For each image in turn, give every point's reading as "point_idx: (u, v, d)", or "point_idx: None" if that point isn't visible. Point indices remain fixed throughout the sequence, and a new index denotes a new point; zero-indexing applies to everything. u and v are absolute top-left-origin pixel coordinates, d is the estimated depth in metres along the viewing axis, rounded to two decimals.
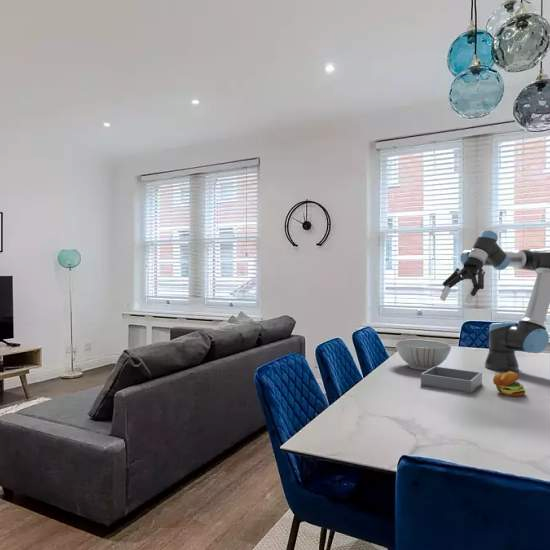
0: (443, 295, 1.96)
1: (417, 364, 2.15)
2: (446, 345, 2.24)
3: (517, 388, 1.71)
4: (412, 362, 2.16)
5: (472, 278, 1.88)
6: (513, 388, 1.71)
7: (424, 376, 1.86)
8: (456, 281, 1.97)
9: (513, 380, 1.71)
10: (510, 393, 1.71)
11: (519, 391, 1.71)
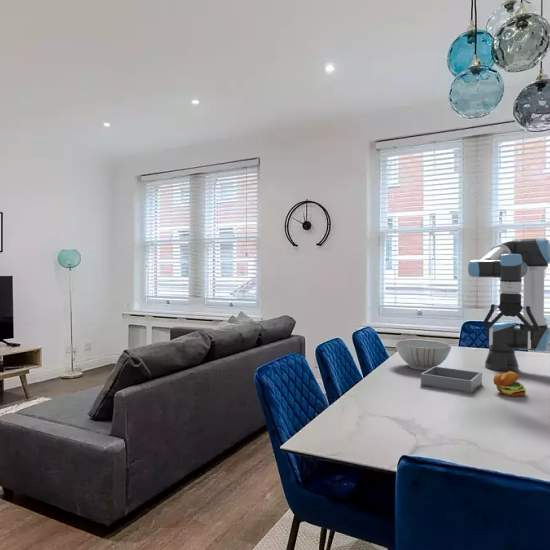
0: (491, 340, 1.78)
1: (417, 364, 2.15)
2: (446, 345, 2.24)
3: (517, 388, 1.71)
4: (412, 362, 2.16)
5: (522, 320, 1.72)
6: (513, 388, 1.71)
7: (424, 376, 1.86)
8: (497, 320, 1.78)
9: (513, 380, 1.71)
10: (510, 393, 1.71)
11: (519, 391, 1.71)
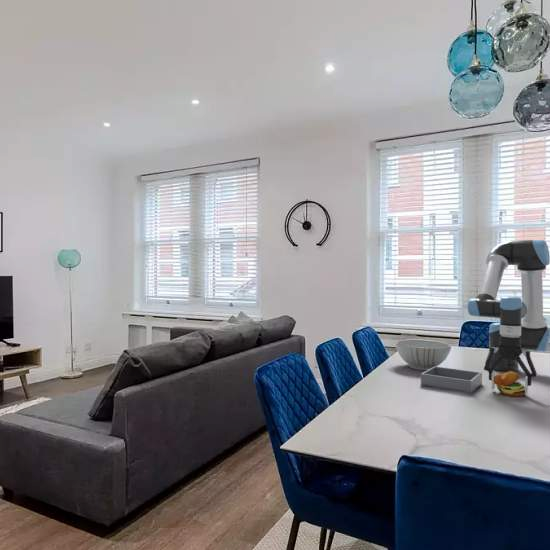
0: (493, 384, 1.78)
1: (417, 364, 2.15)
2: (446, 345, 2.24)
3: (518, 388, 1.71)
4: (412, 362, 2.16)
5: (521, 364, 1.72)
6: (514, 388, 1.71)
7: (424, 376, 1.86)
8: (498, 363, 1.78)
9: (514, 380, 1.71)
10: (511, 393, 1.71)
11: (520, 391, 1.71)
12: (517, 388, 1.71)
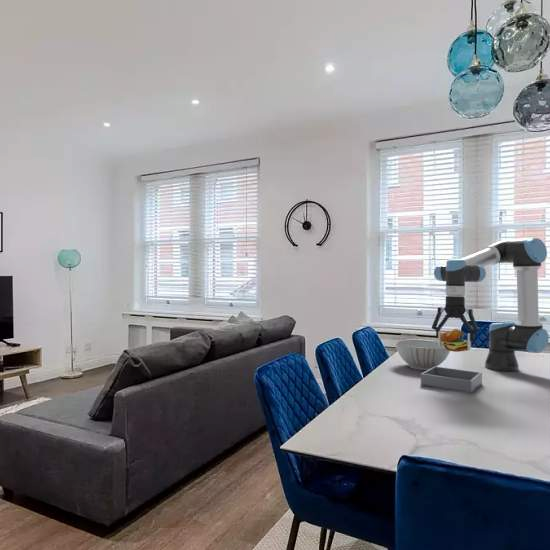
0: (440, 342, 1.90)
1: (417, 364, 2.15)
2: None
3: (461, 343, 1.83)
4: (412, 362, 2.16)
5: (464, 322, 1.84)
6: (457, 343, 1.83)
7: (424, 376, 1.86)
8: (445, 322, 1.90)
9: (457, 336, 1.84)
10: (454, 348, 1.83)
11: (463, 346, 1.83)
12: (460, 344, 1.83)
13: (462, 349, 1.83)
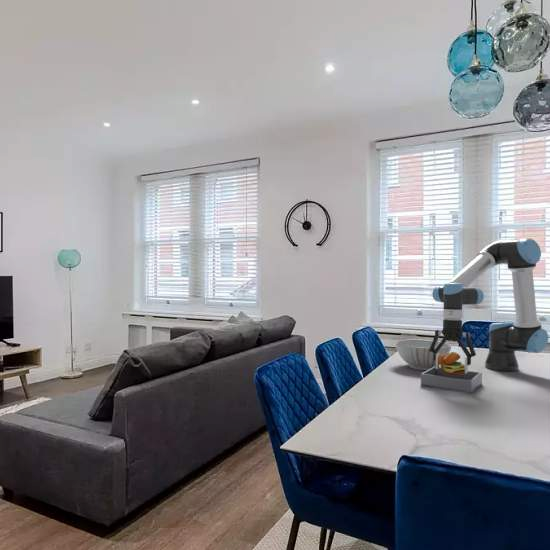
0: (437, 365, 1.91)
1: (417, 364, 2.15)
2: (446, 345, 2.24)
3: (458, 367, 1.84)
4: (412, 362, 2.16)
5: (461, 345, 1.85)
6: (454, 367, 1.84)
7: (424, 376, 1.86)
8: (442, 345, 1.91)
9: (454, 360, 1.84)
10: (452, 372, 1.84)
11: (460, 370, 1.84)
12: (457, 367, 1.83)
13: (459, 373, 1.84)
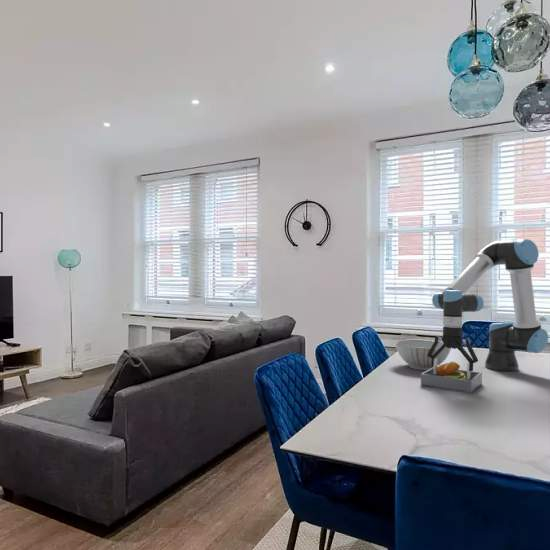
0: (435, 370, 1.92)
1: (417, 364, 2.15)
2: None
3: (458, 377, 1.84)
4: (412, 362, 2.16)
5: (462, 352, 1.85)
6: (454, 377, 1.84)
7: (424, 376, 1.86)
8: None
9: (454, 369, 1.85)
10: None
11: None
12: (457, 377, 1.84)
13: None
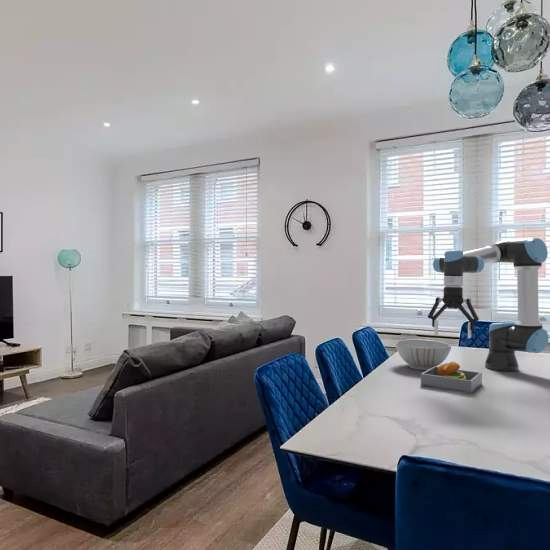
0: (436, 331, 1.91)
1: (417, 364, 2.15)
2: (446, 345, 2.24)
3: (458, 377, 1.84)
4: (412, 362, 2.16)
5: (463, 311, 1.84)
6: (454, 377, 1.84)
7: (424, 376, 1.86)
8: None
9: (454, 370, 1.84)
10: None
11: None
12: (457, 377, 1.84)
13: None
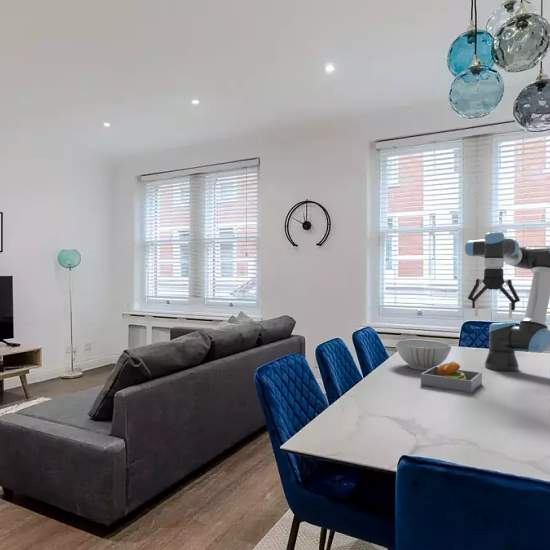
0: (476, 312, 1.96)
1: (417, 364, 2.15)
2: (446, 345, 2.24)
3: (458, 377, 1.84)
4: (412, 362, 2.16)
5: (504, 292, 1.89)
6: (454, 377, 1.84)
7: (424, 376, 1.86)
8: (482, 293, 1.95)
9: (454, 370, 1.84)
10: None
11: None
12: (457, 377, 1.84)
13: None
